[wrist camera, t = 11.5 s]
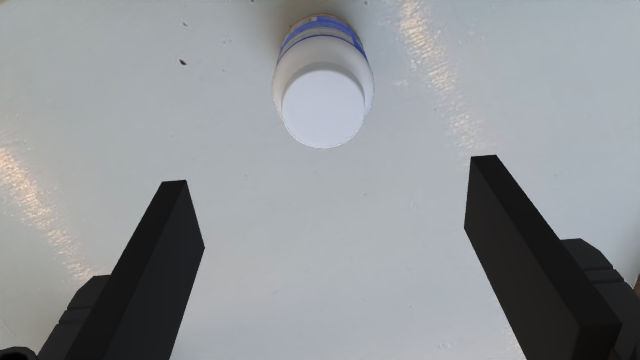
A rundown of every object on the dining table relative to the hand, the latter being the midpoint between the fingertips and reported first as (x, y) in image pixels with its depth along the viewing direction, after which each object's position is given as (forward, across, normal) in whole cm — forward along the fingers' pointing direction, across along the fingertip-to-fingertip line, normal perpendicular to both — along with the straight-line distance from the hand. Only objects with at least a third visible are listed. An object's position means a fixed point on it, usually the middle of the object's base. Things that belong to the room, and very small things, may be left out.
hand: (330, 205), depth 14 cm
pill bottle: (+18, 0, 0) cm, 18 cm away
